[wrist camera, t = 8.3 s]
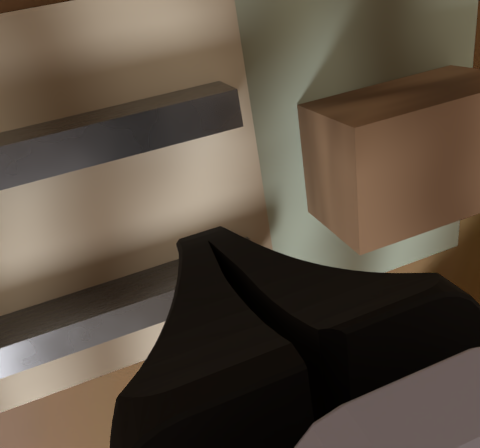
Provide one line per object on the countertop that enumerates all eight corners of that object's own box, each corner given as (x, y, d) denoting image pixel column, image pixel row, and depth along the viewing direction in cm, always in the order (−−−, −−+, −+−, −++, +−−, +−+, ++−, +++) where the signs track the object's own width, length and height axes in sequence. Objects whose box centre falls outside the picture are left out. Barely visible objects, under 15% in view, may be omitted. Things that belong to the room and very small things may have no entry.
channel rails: (-75, 369, 16) (-92, 411, 14) (-208, 181, 13) (-253, 207, 11) (252, 260, 19) (269, 284, 17) (219, 80, 15) (237, 89, 14)
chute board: (-31, 410, 18) (-35, 425, 18) (-269, 63, 12) (-290, 66, 11) (446, 238, 23) (457, 245, 23) (468, -71, 17) (484, -75, 16)
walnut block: (307, 211, 19) (359, 255, 15) (297, 104, 17) (354, 128, 13) (444, 168, 20) (519, 199, 17) (450, 65, 18) (538, 76, 15)
